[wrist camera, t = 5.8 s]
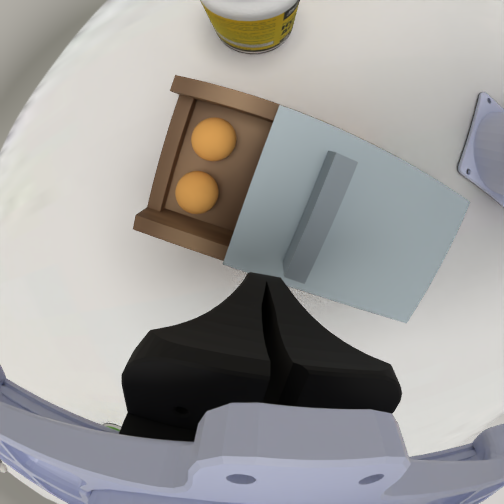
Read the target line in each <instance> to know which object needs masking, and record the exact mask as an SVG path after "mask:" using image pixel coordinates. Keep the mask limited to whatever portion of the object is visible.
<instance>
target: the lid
mask: <svg viewBox="0 0 504 504" xmlns="http://www.w3.org/2000/svg"><path fill="white" fill-rule="evenodd" d="M469 204H470V202H469V201H468V200H467V199H465V198H464V197H462V196H461V195H459V194H458V193H456V192H455V191H453V190H452V189H450V188H449V187H447V186H446V185H444V184H442V183H441V182H439V181H438V180H436V179H434V178H433V177H431V176H429V175H428V174H426V173H425V172H423V171H421V170H419V169H418V168H416V167H414V166H412V165H411V164H409V163H407V162H405V161H404V160H402V159H400V158H398V157H396V156H394V155H393V154H391V153H389V152H387V151H385V150H383V149H381V148H379V147H377V146H375V145H373V144H371V143H369V142H367V141H365V140H363V139H361V138H359V137H357V136H355V135H352V134H350V133H348V132H346V131H344V130H341V129H339V128H337V127H335V126H332V125H330V124H328V123H325V122H323V121H321V120H318V119H316V118H313V117H311V116H308V115H306V114H303V113H301V112H298V111H295V110H293V109H290V108H287V107H284V106H282V105H279V108H278V110H277V113H276V116H275V118H274V121H273V124H272V127H271V129H270V132H269V135H268V137H267V140H266V143H265V145H264V148H263V151H262V154H261V156H260V159H259V162H258V165H257V167H256V170H255V173H254V176H253V179H252V181H251V184H250V187H249V190H248V193H247V195H246V198H245V201H244V204H243V207H242V210H241V212H240V215H239V218H238V221H237V224H236V227H235V230H234V233H233V235H232V238H231V241H230V244H229V247H228V250H227V253H226V256H225V259H224V262H223V265H226V266H229V267H232V268H235V269H238V270H241V271H244V272H247V273H249V272H253V273H259V274H265V275H270V276H276V277H281V279H282V280H283V281H284V283H285V284H286V286H289V287H292V288H295V289H299V290H302V291H305V292H308V293H311V294H314V295H317V296H320V297H323V298H327V299H330V300H333V301H336V302H339V303H342V304H345V305H349V306H352V307H355V308H358V309H361V310H365V311H368V312H371V313H374V314H378V315H381V316H384V317H387V318H391V319H394V320H397V321H401V322H404V323H407V322H408V320H409V319H410V317H411V315H412V314H413V312H414V311H415V309H416V307H417V306H418V304H419V303H420V301H421V299H422V298H423V296H424V294H425V293H426V291H427V289H428V287H429V286H430V284H431V282H432V280H433V279H434V277H435V275H436V273H437V271H438V269H439V268H440V266H441V264H442V262H443V260H444V258H445V256H446V254H447V252H448V250H449V248H450V246H451V244H452V242H453V240H454V238H455V236H456V234H457V231H458V229H459V227H460V225H461V223H462V220H463V218H464V216H465V213H466V211H467V209H468V206H469Z"/></svg>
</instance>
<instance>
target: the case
mask: <svg viewBox="0 0 504 504" xmlns="http://www.w3.org/2000/svg"><path fill="white" fill-rule="evenodd" d="M170 91H172V92H174V93H177V94H179V98H178V101H177V104H176V107H175V110H174V113H173V116H172V119H171V122H170V125H169V128H168V131H167V135H166V138H165V141H164V145H163V148H162V152H161V155H160V159H159V163H158V166H157V170H156V174H155V178H154V182H153V186H152V190H151V194H150V198H149V202H148V206H147V208H146V209H144V210H143V211H141V212H140V213H138V214H137V215H136V216H135V221H134V226H133V229H134V230H136V231H139V232H142V233H145V234H148V235H150V236H153V237H156V238H159V239H162V240H165V241H167V242H170V243H173V244H176V245H179V246H182V247H185V248H188V249H190V250H193V251H196V252H199V253H202V254H205V255H208V256H211V257H214V258H217V259H219V260H222V261H224V259H225V256H226V253H227V250H228V247H229V244H230V241H231V238H232V235H233V233H234V230H235V227H236V224H237V221H238V218H239V215H240V212H241V210H242V207H243V204H244V201H245V198H246V195H247V193H248V190H249V187H250V184H251V181H252V179H253V176H254V173H255V170H256V167H257V165H258V162H259V159H260V156H261V154H262V151H263V148H264V145H265V143H266V140H267V137H268V135H269V132H270V129H271V127H272V124H273V121H274V118H275V116H276V113H277V110H278V108H279V105H280V104H277V103H274V102H271V101H268V100H265V99H262V98H259V97H256V96H253V95H250V94H246V93H243V92H240V91H236V90H233V89H229V88H226V87H222V86H219V85H215V84H211V83H207V82H203V81H199V80H195V79H190V78H186V77H181V76H177V75H175V78H174V80H173V83H172V86H171V89H170ZM284 107H285V106H284ZM287 108H288V107H287ZM290 109H291V108H290ZM295 111H296V110H295ZM298 112H299V111H298ZM303 114H304V113H303ZM308 116H309V115H308ZM213 117H216V118H221V119H224V120H226V121H227V122H229V123H230V124H231V125H232V126H233V128H234V130H235V132H236V145H235V148H234V150H233V151H232V153H231V154H230V155H229V156H227V157H226V158H224V159H222V160H219V161H208V160H205V159H202V158H201V157H199V156H198V155H197V154H196V153H195V151H194V149H193V147H192V143H191V136H192V133H193V130H194V128H195V127H196V126H197V125H198V124H199V123H200V122H201V121H203V120H205V119H207V118H213ZM313 118H314V117H313ZM318 120H319V119H318ZM323 122H324V121H323ZM325 123H326V122H325ZM330 125H331V124H330ZM332 126H333V125H332ZM337 128H338V127H337ZM339 129H340V128H339ZM341 130H342V129H341ZM346 132H347V131H346ZM348 133H349V132H348ZM350 134H351V133H350ZM352 135H353V134H352ZM361 139H362V138H361ZM363 140H364V139H363ZM365 141H366V140H365ZM367 142H368V141H367ZM369 143H370V142H369ZM371 144H372V143H371ZM373 145H374V144H373ZM375 146H376V145H375ZM377 147H378V146H377ZM379 148H380V147H379ZM381 149H382V148H381ZM383 150H384V149H383ZM385 151H386V150H385ZM394 156H395V155H394ZM396 157H397V156H396ZM398 158H399V157H398ZM192 171H202V172H205V173H207V174H209V175H211V176H212V177H213V178H214V180H215V181H216V183H217V186H218V190H219V194H218V199H217V201H216V203H215V205H214V206H213V207H212V208H211V209H210V210H209V211H207V212H205V213H201V214H192V213H188V212H186V211H185V210H183V209H182V208H181V207H180V206H179V204H178V202H177V200H176V196H175V190H176V186H177V183H178V181H179V180H180V179H181V178H182V177H183V176H184V175H185V174H187V173H189V172H192Z"/></svg>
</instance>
